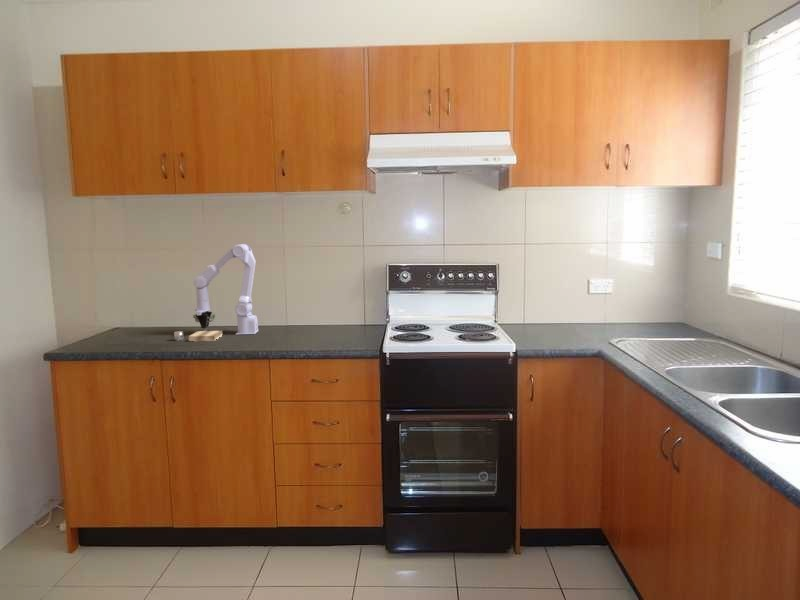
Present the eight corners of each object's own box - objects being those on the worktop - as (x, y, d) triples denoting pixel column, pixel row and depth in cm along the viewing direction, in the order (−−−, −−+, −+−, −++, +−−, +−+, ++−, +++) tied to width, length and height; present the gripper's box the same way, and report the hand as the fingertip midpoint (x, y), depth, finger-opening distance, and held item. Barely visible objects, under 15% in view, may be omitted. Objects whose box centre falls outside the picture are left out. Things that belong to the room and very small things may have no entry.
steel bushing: (185, 339, 261) (184, 330, 261) (181, 341, 257) (181, 332, 257) (176, 339, 261) (176, 331, 261) (173, 341, 257) (172, 332, 257)
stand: (222, 335, 267) (222, 330, 267) (214, 340, 255) (214, 335, 255) (197, 336, 267) (197, 331, 267) (188, 341, 255) (188, 336, 255)
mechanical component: (214, 334, 271) (213, 314, 269) (194, 334, 271) (192, 314, 269) (216, 333, 273) (215, 313, 272) (196, 333, 274) (194, 313, 272)
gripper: (199, 298, 277) (201, 324, 279) (189, 302, 262) (191, 330, 264) (213, 298, 277) (215, 324, 279) (204, 302, 263) (206, 330, 265)
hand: (205, 327), depth 272 cm, fingers closed on mechanical component, 3 cm apart
